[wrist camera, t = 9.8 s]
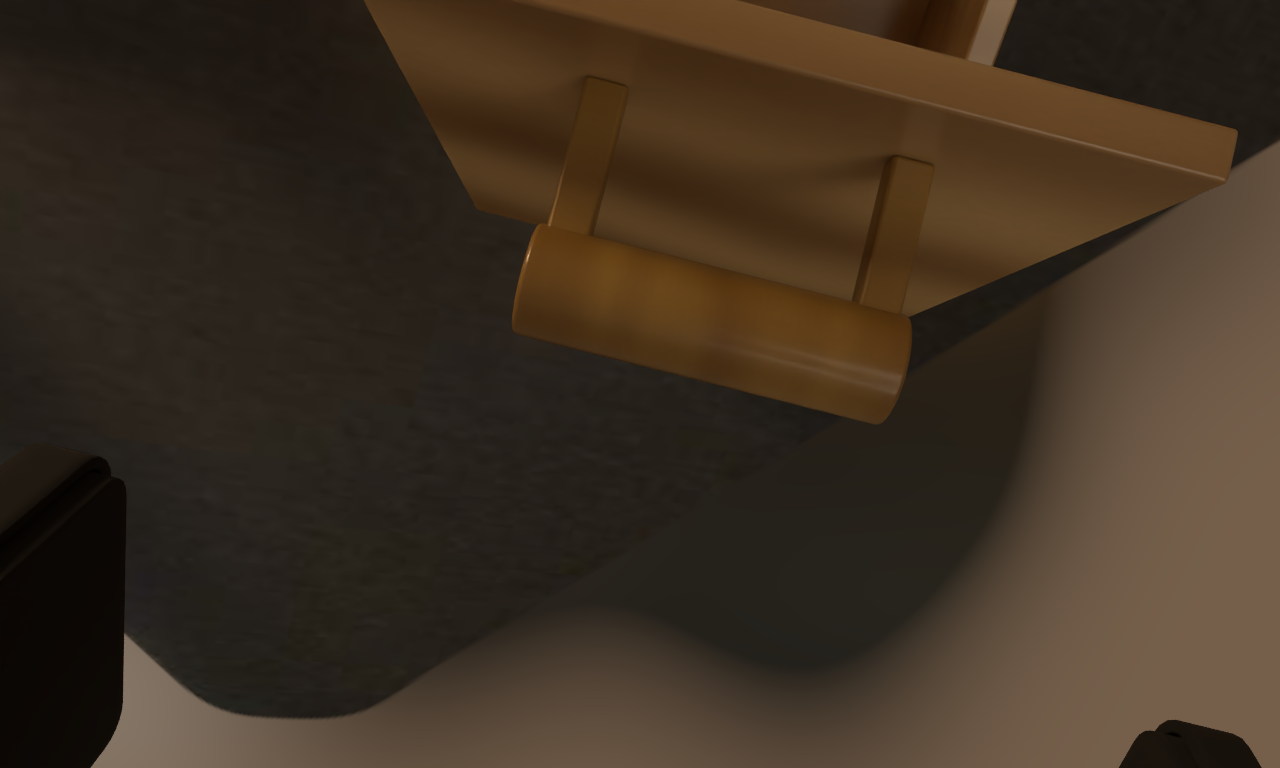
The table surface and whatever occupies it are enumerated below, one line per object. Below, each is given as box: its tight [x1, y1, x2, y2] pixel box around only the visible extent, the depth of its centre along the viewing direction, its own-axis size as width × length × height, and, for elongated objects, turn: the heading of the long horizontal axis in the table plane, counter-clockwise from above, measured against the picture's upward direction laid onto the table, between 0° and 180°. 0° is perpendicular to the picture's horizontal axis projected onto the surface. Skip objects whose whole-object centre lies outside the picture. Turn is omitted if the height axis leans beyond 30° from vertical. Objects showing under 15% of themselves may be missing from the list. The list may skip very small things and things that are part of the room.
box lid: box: [364, 0, 1238, 424], centre depth 22 cm, size 15×13×5 cm
